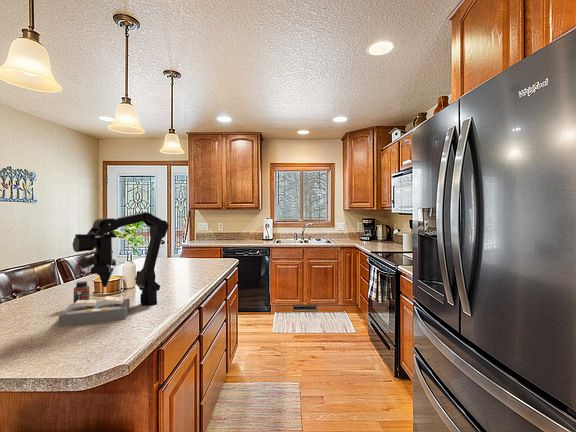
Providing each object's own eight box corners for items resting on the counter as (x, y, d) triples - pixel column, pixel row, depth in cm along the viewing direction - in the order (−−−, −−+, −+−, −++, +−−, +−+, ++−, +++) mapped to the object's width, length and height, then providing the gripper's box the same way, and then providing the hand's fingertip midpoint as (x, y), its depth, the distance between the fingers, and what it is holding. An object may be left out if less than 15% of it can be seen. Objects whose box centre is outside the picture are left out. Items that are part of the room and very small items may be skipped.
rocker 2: (123, 301, 131) (124, 298, 131) (122, 304, 126) (123, 301, 126) (105, 298, 128) (106, 295, 128) (103, 302, 124) (104, 299, 124)
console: (129, 307, 137) (129, 296, 137) (125, 318, 122) (125, 306, 122) (70, 313, 128) (70, 301, 128) (58, 326, 114) (58, 313, 114)
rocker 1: (97, 302, 127) (97, 299, 127) (94, 305, 123) (94, 302, 123) (77, 303, 125) (77, 300, 125) (73, 306, 120) (74, 303, 120)
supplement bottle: (81, 309, 134) (81, 283, 134) (70, 308, 135) (70, 283, 135) (92, 305, 140) (92, 280, 140) (81, 304, 141) (81, 280, 141)
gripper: (86, 247, 132) (87, 283, 132) (74, 253, 114) (75, 294, 115) (115, 246, 136) (116, 281, 136) (108, 251, 118) (109, 291, 119)
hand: (104, 286), depth 126 cm, fingers closed
